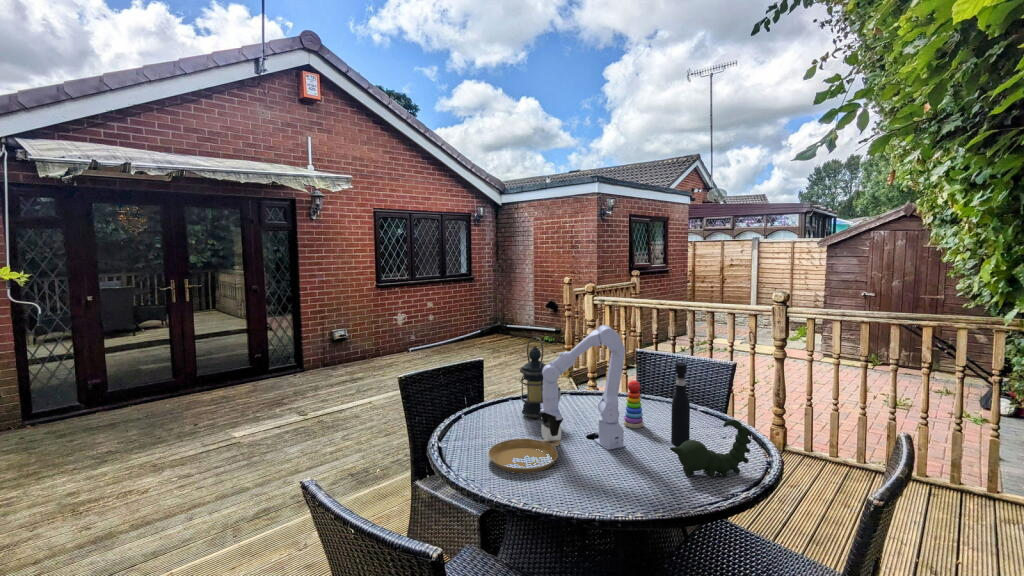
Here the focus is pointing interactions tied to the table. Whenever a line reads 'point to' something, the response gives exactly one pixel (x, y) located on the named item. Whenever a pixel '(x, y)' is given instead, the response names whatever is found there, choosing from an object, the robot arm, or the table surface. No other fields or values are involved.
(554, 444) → the post stand
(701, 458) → the toy figurine
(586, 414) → the table surface
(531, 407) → the lantern
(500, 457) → the plant saucer
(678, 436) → the wine bottle
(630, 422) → the stacking toy
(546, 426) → the collar
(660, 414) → the table surface
